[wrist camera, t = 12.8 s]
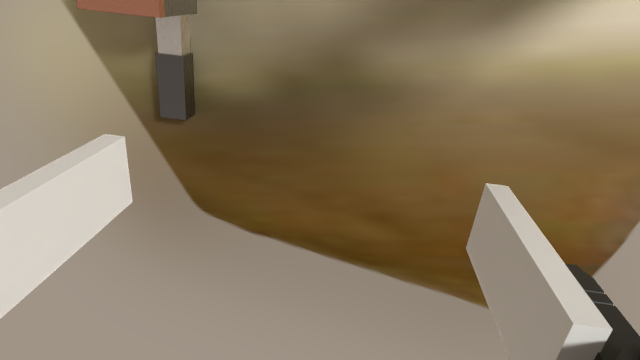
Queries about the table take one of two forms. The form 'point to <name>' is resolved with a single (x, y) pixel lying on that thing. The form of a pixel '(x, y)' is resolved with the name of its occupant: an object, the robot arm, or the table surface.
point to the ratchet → (175, 67)
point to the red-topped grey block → (142, 7)
